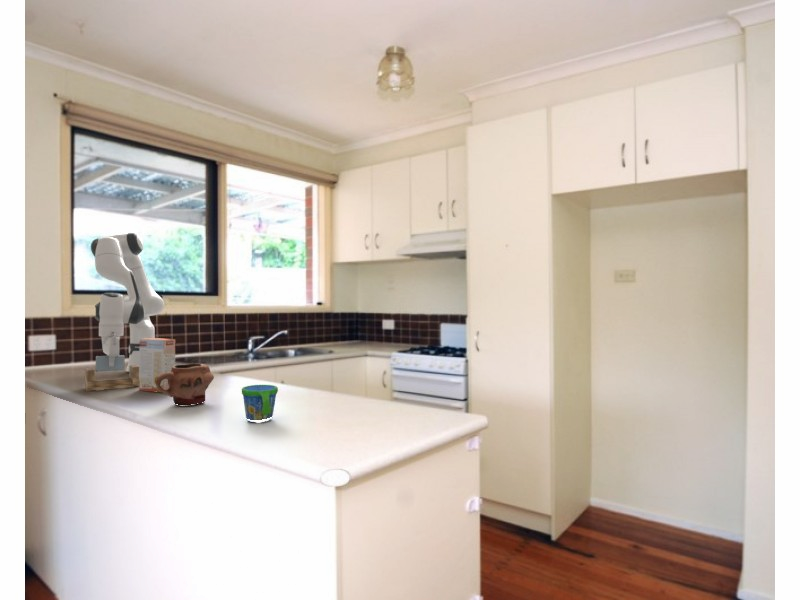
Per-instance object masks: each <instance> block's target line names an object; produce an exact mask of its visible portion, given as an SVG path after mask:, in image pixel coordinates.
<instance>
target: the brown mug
mask: <svg viewBox="0 0 800 600" xmlns="http://www.w3.org/2000/svg"><path fill="white" fill-rule="evenodd" d="M164 379H168V385H169V389H168V390H164V389H162V388H161V386H160V384H161V381H162V380H164ZM214 379H215V375H214V374H213V373H212V372H211V369H210V367H209V366H208V365H207V364H204V363H188V364H178V365H177V364H175V366H173V367H172V369H171V372H169V373H164V374H161V375H160V376H159V377H158V378H157V380H156V386H157V388H158V389H159V390H160V391H161V392H163V393H162V394H164V395H166V396H168V397H170V398H173V399H172V400H173V404H174V403H175V404H178V405H191V404H197V403H202V402H204V401H205V402H206V391H207V389H208V388H209V385H210V384H212V382H213V380H214ZM205 402H204V403H205ZM175 404H174V405H175ZM202 404H203V403H202Z"/></svg>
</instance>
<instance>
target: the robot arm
mask: <svg viewBox="0 0 800 600" xmlns="http://www.w3.org/2000/svg"><path fill="white" fill-rule="evenodd" d="M143 249H144V242H143V238H142V237H141V236H140V234H139V233H137V232H132V231H131V232H130V231H129V232H127V233H125V232H124V233H123V232H121V233H116V234H115V233H114V234H111V235H107V236H103V237H97V238H95V239H94V240H92V242H91V243H90V251H91V253H92V255H93V256H94V266H95V270H96V273H98V275H99V276H101V277H102V278H104V279H106V280H108V281H111V282H114V283H118V284H120V285H122V286H123V287H124V288H125V289H126V292H127V296H125V297H124V296H123V294H122V293H119V292H104V293H102V294H101V297H100V301H99V302H98V303H97V304H95V305H94V307H95V312H94V315H95V316H94V319H95V320H96V321H97V322H98V337H101V345H102V352H103V353H104V354H105V355H106V356H109V366H114V360H115V356H119V355H120V340H121V337H124V335H125V327H124V326H125V324H127V325H128V324H129V343H128V354H129V357H128V364H127V367H126V370H125V371H126V373H127V372H128V373H130V365H137V366H139V349H140V339H143V338H156V336H155V335H156V334H155V333H156V331H155V330H156V329H155V325H154V324H153V323H152V321H151V318H150V317H151V316H155V315H156V316H157V315H159V314H161V313H162V312H163V311H164V308H165V301H164V299H163V298H162V297H161V296H160V295H159V294H158V293H156V290H154V288H153V287H152V285H151V283H150V281H149V278H148V277H147V274H146V269H145V267H144V264H143V261H142V258H141V256H140V253H141V252H142V251H143Z"/></svg>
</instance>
